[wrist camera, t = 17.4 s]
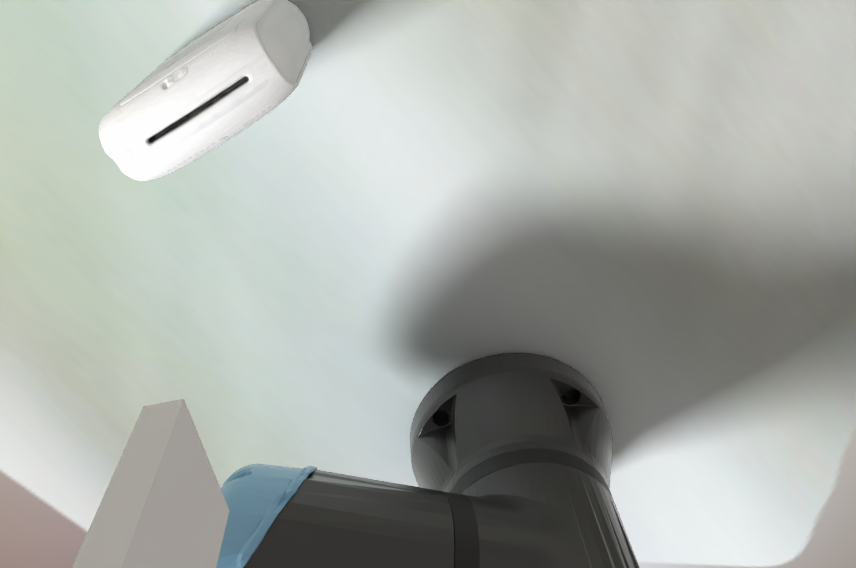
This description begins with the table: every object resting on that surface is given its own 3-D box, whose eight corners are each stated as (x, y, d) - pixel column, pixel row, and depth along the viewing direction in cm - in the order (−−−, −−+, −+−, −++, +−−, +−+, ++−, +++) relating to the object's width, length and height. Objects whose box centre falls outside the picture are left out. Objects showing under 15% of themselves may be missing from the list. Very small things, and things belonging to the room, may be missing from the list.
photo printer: (185, 134, 49) (130, 211, 38) (139, 74, 47) (67, 136, 36) (325, 46, 47) (309, 100, 36) (283, -20, 45) (252, 14, 34)
